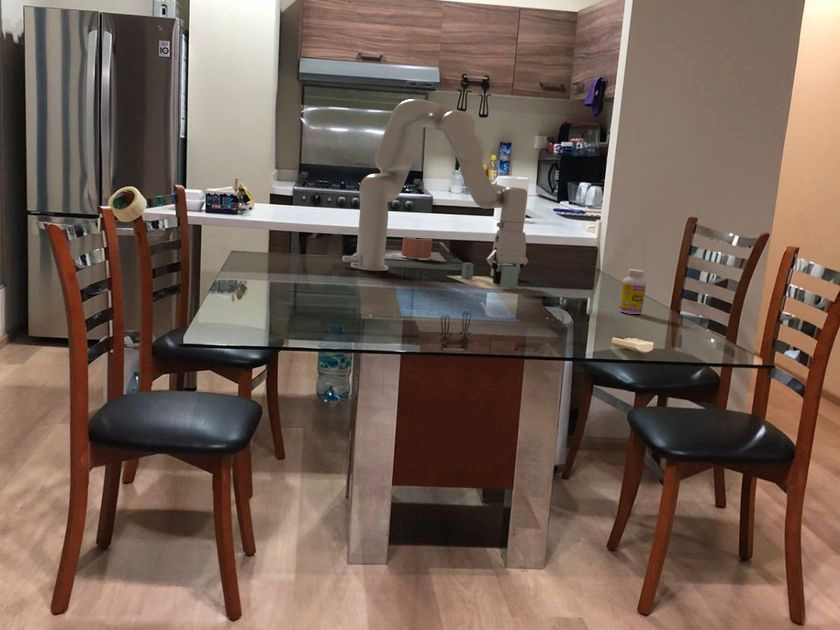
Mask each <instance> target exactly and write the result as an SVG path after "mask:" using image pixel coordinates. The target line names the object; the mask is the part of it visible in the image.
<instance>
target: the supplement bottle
mask: <svg viewBox="0 0 840 630" xmlns="http://www.w3.org/2000/svg"><path fill="white" fill-rule="evenodd" d="M645 272H646V271H644V270H642V269H637V268H636V269H635V268H629V269H628V270H627V277H624V278H623V281H622V286H621V293H620V300H619V308H618V311H619V312H620V311H621V312H624V313H629V314H640V315H642V311H643V306H644V301H645V295H646V287H647V282H646V280H645V279H644V275H645ZM621 312H620V313H621ZM624 313H623V314H624ZM629 314H628V315H629Z"/></svg>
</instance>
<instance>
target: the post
mask: <svg viewBox="0 0 840 630" xmlns="http://www.w3.org/2000/svg"><path fill="white" fill-rule="evenodd" d="M474 266H475V264H474V263H471V262H462V269H461V275H460V276H461V278H463V279H472V277H473V276H474Z"/></svg>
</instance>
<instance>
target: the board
mask: <svg viewBox="0 0 840 630" xmlns="http://www.w3.org/2000/svg"><path fill="white" fill-rule="evenodd" d="M461 276H462V275H447V277H448V278H451V279H455V280H456V281H459V282H463V283H464V284H468V285H471V286H473V287H476V288H479V289H492V290H493V289H498V290H499V289H502V290H503V289H504V290H506V289H509V290H510V289H511V290H523V289H524V288H522V287H520V286H517V287H500V286H497V285H494V284H493V278H492V277H490V276H482V275H481V276H477V275H476V276H474V275H473V277H472V279H463V278H461Z"/></svg>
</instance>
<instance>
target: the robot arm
mask: <svg viewBox="0 0 840 630" xmlns="http://www.w3.org/2000/svg"><path fill="white" fill-rule="evenodd" d="M414 127H421V128H427V129H430V130H435V131H436V132H440V133H443V134H444V135H445V137H446V139H447V142H448V143H449V145H450V147H451V149H452V151H453V153H454V155H455V157H456V159H457V161H458V163H459V169H460V173H461V176H462V179H463V181H464V182H463V183H464V184H465V187H466V188H467V190H468V192H469V194H470V196H471V199H472V200H473V202H474V203H475V204H476V205H477V206H478V207H479V208H481V209H485V210H486V209H500V208H501V211H500V219H499V222H497V223H496V227H497V228H498V230H497V231H496V234H495V237H494V242H493V245H492V251H491V253H490V254H489V255H488V257H486V262H487V263H488V264H489V265H490V267H492V269H493V270H494V275H493V276H492V277H493V283H495V284H500V279H501V272H500V270H501V267H502V265H503V263H509V264H511V265H515V266H518V267H519V273H521V270H522V269H523V268H524V266H526V265H527V264H528V263H529V260H528V258H527V256H526V252H527V239H526V232H524V225H525V218H526V209H527V203H528V202H527V200H528V191H527V189H525V188H521V187H515V186H504V185H500V184H497V183H495V184H493V183H492V182H491V179H489V177H488V175H487V173H486V171H485V168H484V163H483V160H484V159H483V158H484V149H483V147H482V145H481V143H480V142H479V139H478V138H477V136H476V134H475V129H476V128H475V127H476V122H475V120H474V117H473V116H472V115H471V114H470V113H469V112H466V111H463V110H459V109H456V108H453V107H450V106H446V105H444V104H441V103H438V102H434V101H430V100H427V99H421V98H410V99H406V100H404V101H402V102H400V103H399V104H397V105H396V106H395V108H394V109H393V111H392V113H391V115H390V118H389V119H388V123H387V126H386V128H385V131H384V133H383V136H382V138H381V140H380V142H379V145H378V148H377V150H376V152H375V155H374V164H375V166H376V167H377V169H378V170H379V171H380V172H379V173H371V174H368V175H366V176H365V177H364V178H362V180H361V182H360V185H359V191H358V192H359V221H358V230H357V231H358V232H357V245H356V252H355V253H354V252H353V254H352V255H342V257H341V258H342V259H341V260H342V261H343V262H348V263H351V264H350V267H351V268H352V269H356V270H362V271H371V272H372V271H373V272H383V271H385V272H386V271H388V270H389V266H388V265H387V264H385V259H386V258H385V256H386V246H387V234H388V222H389V208H388V203H390V202H393V201H395V200H396V199H397V198H398V197H399V196H400V194H401V192H402V190H403V188H404V185H405V183H406V180H407V178H408V175H409V173H410V170H411V167H412V164H413V154H412V151H411V150H410V148H409V147H408V145H409V143H410V140H411V138H412V133H413V128H414ZM493 260H494V261H495V263H494V261H493Z"/></svg>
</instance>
